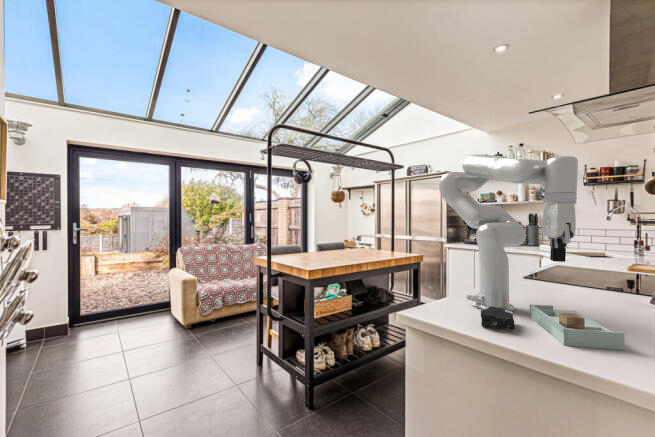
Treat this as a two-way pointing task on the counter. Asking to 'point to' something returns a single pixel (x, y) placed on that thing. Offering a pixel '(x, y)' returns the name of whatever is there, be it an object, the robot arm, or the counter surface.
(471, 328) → the counter surface
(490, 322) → the rock
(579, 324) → the walnut block
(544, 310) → the tray
